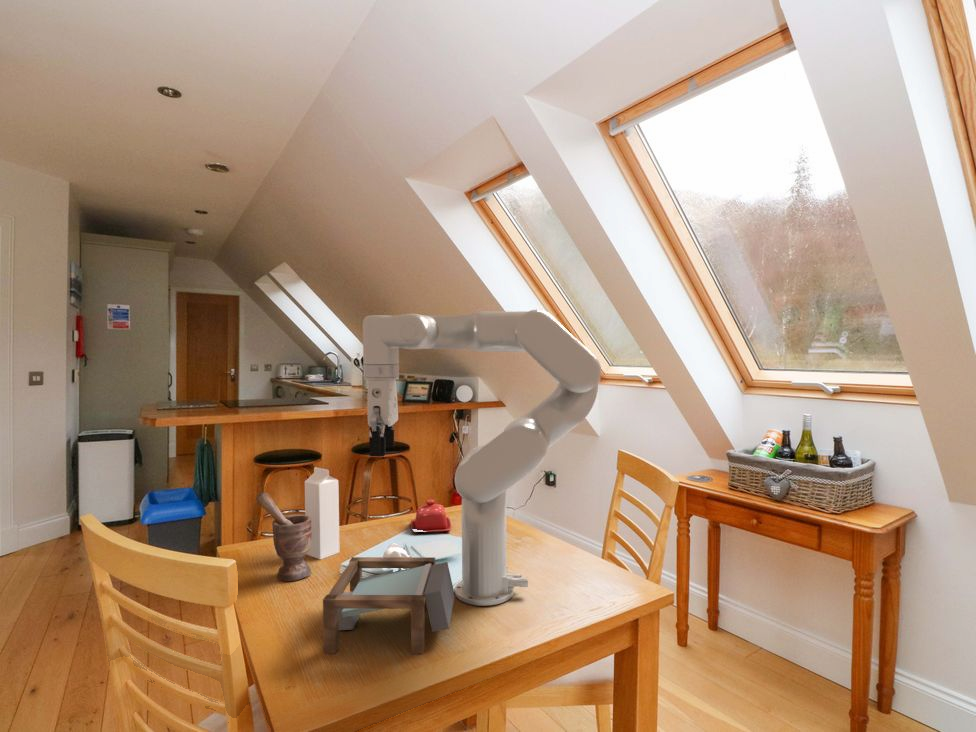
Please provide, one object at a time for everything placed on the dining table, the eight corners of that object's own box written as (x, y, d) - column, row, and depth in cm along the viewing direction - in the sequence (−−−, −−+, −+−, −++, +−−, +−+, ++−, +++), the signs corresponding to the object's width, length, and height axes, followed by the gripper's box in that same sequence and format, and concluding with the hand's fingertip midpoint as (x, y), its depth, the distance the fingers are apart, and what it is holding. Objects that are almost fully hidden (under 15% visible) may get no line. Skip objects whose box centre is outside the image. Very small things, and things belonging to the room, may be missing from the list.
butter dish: (410, 536, 155) (410, 506, 154) (411, 523, 166) (410, 495, 166) (452, 534, 156) (451, 504, 156) (449, 521, 168) (449, 493, 167)
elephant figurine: (378, 568, 133) (377, 543, 133) (411, 564, 135) (411, 540, 135) (380, 579, 126) (380, 554, 126) (415, 575, 128) (415, 550, 128)
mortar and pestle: (262, 589, 122) (260, 499, 121) (256, 575, 129) (254, 490, 128) (316, 578, 127) (314, 491, 126) (308, 564, 135) (306, 483, 134)
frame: (435, 602, 115) (435, 557, 115) (423, 654, 96) (422, 600, 96) (352, 602, 115) (352, 557, 115) (323, 653, 96) (322, 599, 96)
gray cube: (356, 591, 108) (331, 593, 109) (349, 603, 103) (323, 605, 104) (359, 615, 109) (334, 618, 109) (352, 629, 104) (326, 631, 104)
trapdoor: (455, 593, 113) (447, 559, 112) (448, 630, 98) (439, 592, 98) (368, 610, 113) (361, 577, 113) (349, 650, 98) (340, 612, 98)
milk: (325, 547, 146) (324, 464, 145) (339, 552, 143) (338, 467, 142) (305, 554, 141) (303, 468, 141) (320, 560, 138) (318, 472, 137)
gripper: (390, 375, 111) (392, 460, 112) (405, 370, 128) (406, 444, 129) (353, 375, 111) (354, 460, 112) (373, 370, 128) (374, 444, 129)
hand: (382, 451), depth 120 cm, fingers open, 9 cm apart
